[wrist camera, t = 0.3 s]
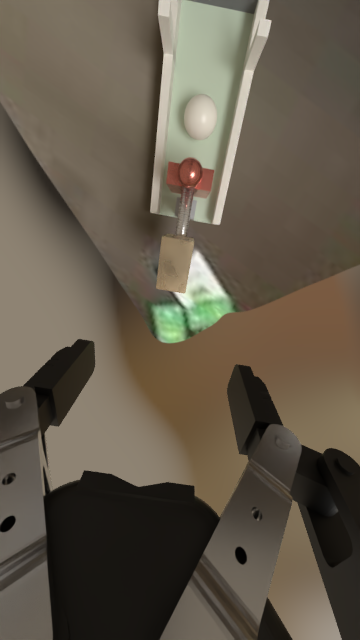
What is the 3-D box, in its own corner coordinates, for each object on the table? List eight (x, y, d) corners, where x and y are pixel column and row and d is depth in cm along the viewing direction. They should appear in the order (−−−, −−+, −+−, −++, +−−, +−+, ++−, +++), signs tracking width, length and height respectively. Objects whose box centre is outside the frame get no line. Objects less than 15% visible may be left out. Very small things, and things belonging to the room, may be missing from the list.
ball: (187, 102, 26) (186, 81, 22) (218, 107, 26) (223, 89, 22) (182, 142, 27) (180, 129, 24) (211, 147, 27) (214, 136, 24)
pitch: (174, -8, 23) (167, -118, 15) (263, 10, 23) (296, -89, 16) (154, 213, 32) (143, 210, 25) (216, 224, 32) (224, 224, 25)
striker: (173, 172, 28) (160, 132, 16) (209, 179, 28) (225, 144, 16) (162, 263, 33) (146, 286, 21) (193, 268, 33) (194, 295, 21)
